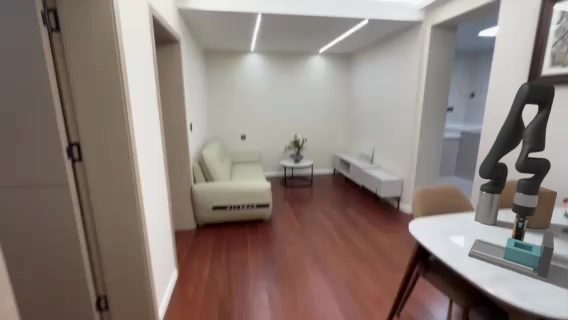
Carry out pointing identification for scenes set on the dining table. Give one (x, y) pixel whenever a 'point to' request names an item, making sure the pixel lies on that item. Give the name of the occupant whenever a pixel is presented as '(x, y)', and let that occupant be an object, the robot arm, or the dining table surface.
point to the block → (543, 209)
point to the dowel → (518, 230)
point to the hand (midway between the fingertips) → (517, 239)
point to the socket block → (522, 253)
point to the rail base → (496, 254)
